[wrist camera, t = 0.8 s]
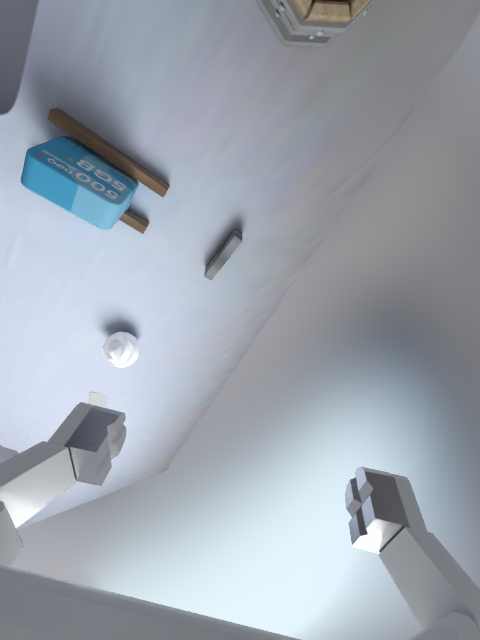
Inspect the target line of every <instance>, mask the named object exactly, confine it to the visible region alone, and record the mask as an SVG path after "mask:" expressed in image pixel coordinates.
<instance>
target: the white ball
mask: <svg viewBox="0 0 480 640" xmlns="http://www.w3.org/2000/svg"><path fill="white" fill-rule="evenodd" d="M139 350H140V348H139V343H138V341H137V338H136V337H134V336H133V335H132V334H130V333H127V332H117V333H115V334H112V335H111V336H109V337H108V338H107V339H106V341H105V343H104V345H103V353H104V356H105V358H106V360H107V361H108V362H109V363H110V364H111V365H113V366H115V367H127V366H129V365H131V364H132V363H133V362H135V361H136V359H137V357H138V354H139Z"/></svg>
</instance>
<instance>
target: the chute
mask: <svg viewBox="0 0 480 640" xmlns="http://www.w3.org/2000/svg"><path fill="white" fill-rule="evenodd" d="M48 120H49V121H50V122H52V123H53V124H55V125H56V126H58V127H59V128H61V129H62V130H64V131H65V132H67V133H68V134H69V135H71V136H72V137H74V138H75V139H77V140H78V141H80V142H81V143H83V144H84V145H86V146H87V147H89V148H90V149H92V150H93V151H95V152H96V153H98V154H99V155H101V156H102V157H104V158H105V159H107V160H108V161H110V162H111V163H113V164H114V165H116V166H117V167H119V168H120V169H121V170H123V171H124V172H126V173H127V174H129V175H130V176H132V177H133V178H135V179H136V180H138V181H139V182H141V183H142V184H144V185H145V186H147V187H148V188H150V189H151V190H153V191H154V192H156V193H157V194H159V195H160V196H162V197H164V195H165V194H166V192H167V190H168V188H169V185H167V184H166V183H165V182H163V181H162V180H160V179H159V178H157V177H156V176H154V175H153V174H152V173H150V172H149V171H147V170H146V169H144V168H143V167H142V166H140V165H139V164H137V163H136V162H134V161H133V160H131V159H130V158H129V157H127V156H126V155H124V154H123V153H121V152H120V151H119V150H117V149H116V148H114V147H113V146H111V145H110V144H108V143H107V142H106V141H104V140H103V139H101V138H100V137H98V136H97V135H95V134H94V133H93V132H91V131H90V130H88V129H87V128H85V127H84V126H83V125H81V124H80V123H78V122H77V121H75V120H74V119H72V118H71V117H70V116H68V115H67V114H65V113H64V112H62V111H61V110H60V109H58V108H54V109H50V113H49V116H48ZM119 220H121V221H123V222H124V223H126V224H127V225H129V226H131V227H132V228H134V229H136V230H137V231H139V232H141V233H142V234H143V233H144V231H145V230H146V228H147V226H148V224H149V222H147V221H146V220H144V219H143V218H141V217H139V216H138V215H136V214H135V213H133V212H131V211H130V210H128V209H127V210H126V211H125V212H124V213H123V215H122V216H121V217H120V218H119ZM241 242H242V233H240V232H239V231H237V230H236V229H235V230H234V231H233V232H232V234H231V235H230V236H229V238H228V239H227V240H226V242H225V243H224V244H223V246H222V247H221V248H220V250H219V251H218V252H217V254H216V255H215V256H214V258H213V259H212V260H211V262H210V263H209V264H208V266H207V267H206V269H205V275H204V276H205V277H206V278H208V279H210V280H212V279H213V278H214V276H215V275H216V274H217V273H218V271H219V270H220V269H221V268H222V266H223V265H224V264H225V262H226V261H227V260H228V259H229V257H230V256H231V255H232V254H233V252H234V251H235V250H236V248H237V247H238V246H239V245H240V243H241Z"/></svg>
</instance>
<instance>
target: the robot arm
mask: <svg viewBox="0 0 480 640" xmlns="http://www.w3.org/2000/svg"><path fill="white" fill-rule="evenodd" d="M124 421H125V413H123V412H119V411H115V410H111V409H107V408H103V407H99V406H96V405H92V404H87V403H83V402H81V403H80V404H78V405H77V406H76V407H75V408H74V409H73V411H72V412H71V413H70V414H69V416H68V417H67V418H66V419H65V421H64V422H63V423H62V424H61V426H60V427H59V428H58V429H57V431H56V432H55V433H54V434H53V436H52V437H51V438H50V439H49V441H48V442H44V441H42V442H41V443H39V444H37V445H35V446H33V447H31V448H29V449H27V450H25V451H24V452H22V453H20V454H18V455H16V456H14V457H12V458H11V459H8V460H7V461H5V462H3V463H1V464H0V640H299V639H296V638H292V637H288V636H283V635H280V634H276V633H272V632H268V631H264V630H260V629H256V628H252V627H248V626H244V625H240V624H236V623H232V622H228V621H224V620H220V619H216V618H212V617H208V616H204V615H200V614H196V613H192V612H188V611H184V610H180V609H176V608H172V607H168V606H164V605H161V604H156V603H153V602H148V601H145V600H140V599H137V598H133V597H128V596H124V595H120V594H116V593H113V592H108V591H105V590H101V589H97V588H93V587H89V586H85V585H80V584H77V583H73V582H69V581H65V580H61V579H57V578H53V577H49V576H45V575H41V574H37V573H33V572H29V571H25V570H21V569H17V568H13V567H11V566H12V564H13V563H14V561H15V560H16V558H17V556H18V555H19V553H20V552H21V550H22V548H23V541H22V539H21V537H20V535H19V533H18V531H17V529H16V528H17V527H19V526H20V525H21V524H22V523H24V522H25V521H26V520H28V519H29V518H30V517H32V516H33V515H34V514H35V513H37V512H38V511H39V510H41V509H42V508H43V507H45V506H46V505H47V504H49V503H50V502H51V501H52V500H54V499H55V498H56V497H58V496H59V495H60V494H62V493H63V492H64V491H65V490H67V489H68V488H69V487H71V486H72V485H73V484H75V483H76V481H79V482H84V483H89V484H94V485H99V486H102V484H103V482H104V480H105V478H106V476H107V475H108V473H109V471H110V469H111V467H112V466H111V459H113V458H114V457H116V456H117V455H118V454H119V452H120V450H121V448H122V446H123V443H124V441H125V437H126V427H125V426H124V425H123V423H124ZM355 475H356V478H354V479H351V480H350V481H349V483H348V485H347V488H346V493H345V498H346V499H345V501H346V508H347V510H348V512H349V513H350V514H351V516H352V519H351V520H350V522H349V527H350V534H351V541H352V546H353V547H357V548H361V549H365V550H368V551H372V552H376V553H379V556H380V558H381V560H382V562H383V563H384V565H385V567H386V569H387V570H388V572H389V573H390V575H391V577H392V579H393V581H394V582H395V584H396V586H397V587H398V589H399V591H400V592H401V594H402V596H403V598H404V599H405V601H406V602H407V604H408V606H409V608H410V610H411V611H412V613H413V615H414V616H415V618H416V620H417V622H418V623H419V625H420V627H421V628H422V631H420V632H418V633H417V634H415V635H414V636H412V637H410V639H409V640H480V589H479V588H478V587H477V586H476V584H475V583H474V582H473V581H472V580H471V578H470V577H469V576H468V575H467V574H466V572H465V571H464V570H463V569H462V568H461V567H460V565H459V564H458V563H457V562H456V561H455V560H454V558H453V557H452V556H451V555H450V554H449V552H448V551H447V550H446V549H445V548H444V546H443V545H442V544H441V543H440V542H439V541H438V539H437V538H436V537H435V536H434V535H433V533H430V532H427V529H426V527H425V523H424V520H423V518H422V515H421V512H420V509H419V506H418V504H417V501H416V498H415V495H414V492H413V490H412V487H411V484H410V481H409V480H408V478H407V477H404V476H399V475H394V474H390V473H388V472H383V471H378V470H374V469H369V468H364V467H359V468H358V469H357V470H356V472H355Z"/></svg>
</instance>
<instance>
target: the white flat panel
mask: <svg viewBox="0 0 480 640" xmlns="http://www.w3.org/2000/svg"><path fill="white" fill-rule="evenodd" d="M89 404H92V405H96V406H99V407H103V408H107V395H106V394H100V393H94V392H90V393H89Z"/></svg>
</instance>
